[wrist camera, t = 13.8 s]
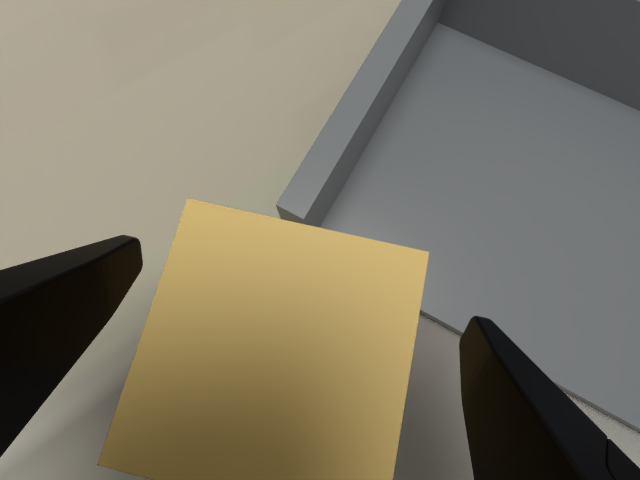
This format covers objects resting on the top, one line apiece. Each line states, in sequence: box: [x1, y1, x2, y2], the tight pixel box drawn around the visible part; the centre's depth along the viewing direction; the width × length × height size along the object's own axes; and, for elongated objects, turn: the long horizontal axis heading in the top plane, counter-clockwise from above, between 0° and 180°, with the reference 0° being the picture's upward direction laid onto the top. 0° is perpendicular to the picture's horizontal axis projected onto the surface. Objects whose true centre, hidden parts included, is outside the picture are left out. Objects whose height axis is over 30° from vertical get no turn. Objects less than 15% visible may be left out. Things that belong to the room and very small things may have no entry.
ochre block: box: [97, 198, 429, 480], centre depth 12 cm, size 5×5×12 cm
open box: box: [276, 0, 640, 433], centre depth 17 cm, size 17×24×6 cm
